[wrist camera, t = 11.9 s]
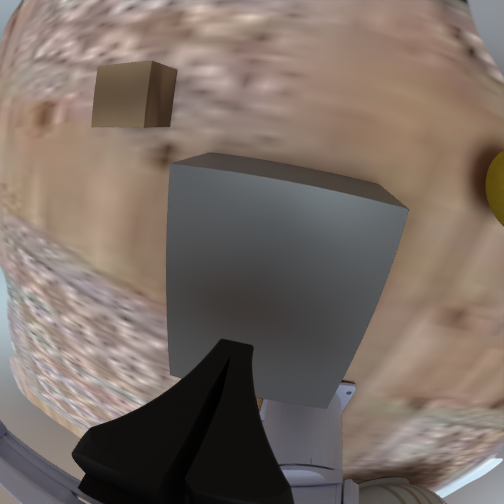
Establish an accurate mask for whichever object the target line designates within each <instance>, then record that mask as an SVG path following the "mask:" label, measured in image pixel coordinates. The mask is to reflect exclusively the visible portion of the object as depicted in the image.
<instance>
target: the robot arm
mask: <svg viewBox="0 0 504 504" xmlns="http://www.w3.org/2000/svg"><path fill="white" fill-rule="evenodd" d="M253 351H254V347H253V346H252V345H251V344H246V343H241V342H236V341H232V340H227V339H223V338H222V339H220V340H219V341H218V342H217V344H216V345H215V346H214V347H213V349H212V350H211V351H210V352H209V353H208V354H207V355H206V356H205V358H204V359H203V360H202V361H201V362H200V363H199V364H198V365H197V366H196V367H195V368H194V369H193V370H191V371H190V372H189V373H188V374H187V375H186V376H185V377H184V378H182V379H181V380H180V381H179V382H178V383H176V384H175V385H174V386H173V387H171V388H170V389H169V390H167V391H166V392H164V393H163V394H162V395H160V396H159V397H157V398H155V399H154V400H152V401H151V402H149V403H147V404H146V405H144V406H142V407H140V408H138V409H136V410H134V411H132V412H130V413H128V414H126V415H124V416H121V417H119V418H117V419H114V420H112V421H109V422H106V423H103V424H100V425H97V426H94V427H91V428H90V429H89V430H88V431H87V432H86V433H85V434H84V435H83V437H82V438H81V439H80V441H79V442H78V444H77V446H76V448H75V449H74V450H73V452H72V457H73V459H74V460H75V462H76V463H77V464H78V465H79V467H80V468H81V469H82V470H83V471H84V472H85V473H86V474H85V476H84V477H83V479H82V481H80V480H79V479H77V478H75V477H73V476H71V475H70V474H68V473H67V472H65V471H63V470H62V469H60V468H59V467H57V466H56V465H54V464H53V463H51V462H50V461H48V460H47V459H45V458H44V457H42V456H41V455H40V454H38V453H37V452H35V451H34V450H33V449H31V448H30V447H29V446H27V445H26V444H24V443H23V442H22V441H21V440H20V439H18V438H17V437H16V436H15V435H13V434H12V433H11V432H10V431H8V430H7V428H6V427H5V425H4V424H3V423H2V422H1V420H0V485H1V486H2V487H3V488H4V489H5V490H6V491H7V492H8V493H10V494H11V495H12V496H13V497H14V498H15V499H16V500H17V501H18V502H19V503H21V504H85V503H84V502H82V501H80V500H79V499H78V497H80V498H82V499H84V500H86V501H87V502H89V503H91V504H359V487H358V484H356V483H355V482H353V480H352V479H348V480H345V484H344V482H343V471H342V412H343V410H344V409H345V407H346V405H347V404H348V402H349V401H350V399H351V397H352V396H353V394H354V392H355V391H356V385H355V384H352V383H344V382H341V383H340V385H339V387H338V389H337V391H336V393H335V394H334V396H333V398H332V400H331V402H330V404H329V405H328V407H327V409H322V408H315V407H307V406H301V405H294V404H288V403H282V402H277V401H272V400H266V399H263V403H262V406H261V409H260V413H259V409H258V405H257V400H256V395H255V389H254V381H253V371H252V357H253ZM348 391H349V392H348ZM77 496H78V497H77Z"/></svg>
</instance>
